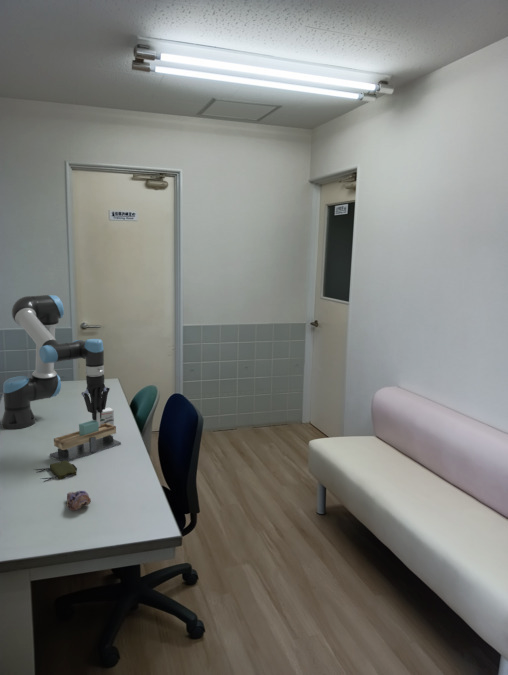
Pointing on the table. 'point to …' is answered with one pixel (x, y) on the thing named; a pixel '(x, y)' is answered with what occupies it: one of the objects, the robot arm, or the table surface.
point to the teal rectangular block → (88, 427)
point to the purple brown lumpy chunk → (77, 500)
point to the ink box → (107, 416)
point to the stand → (85, 449)
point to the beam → (83, 437)
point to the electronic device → (60, 470)
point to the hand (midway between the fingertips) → (97, 426)
